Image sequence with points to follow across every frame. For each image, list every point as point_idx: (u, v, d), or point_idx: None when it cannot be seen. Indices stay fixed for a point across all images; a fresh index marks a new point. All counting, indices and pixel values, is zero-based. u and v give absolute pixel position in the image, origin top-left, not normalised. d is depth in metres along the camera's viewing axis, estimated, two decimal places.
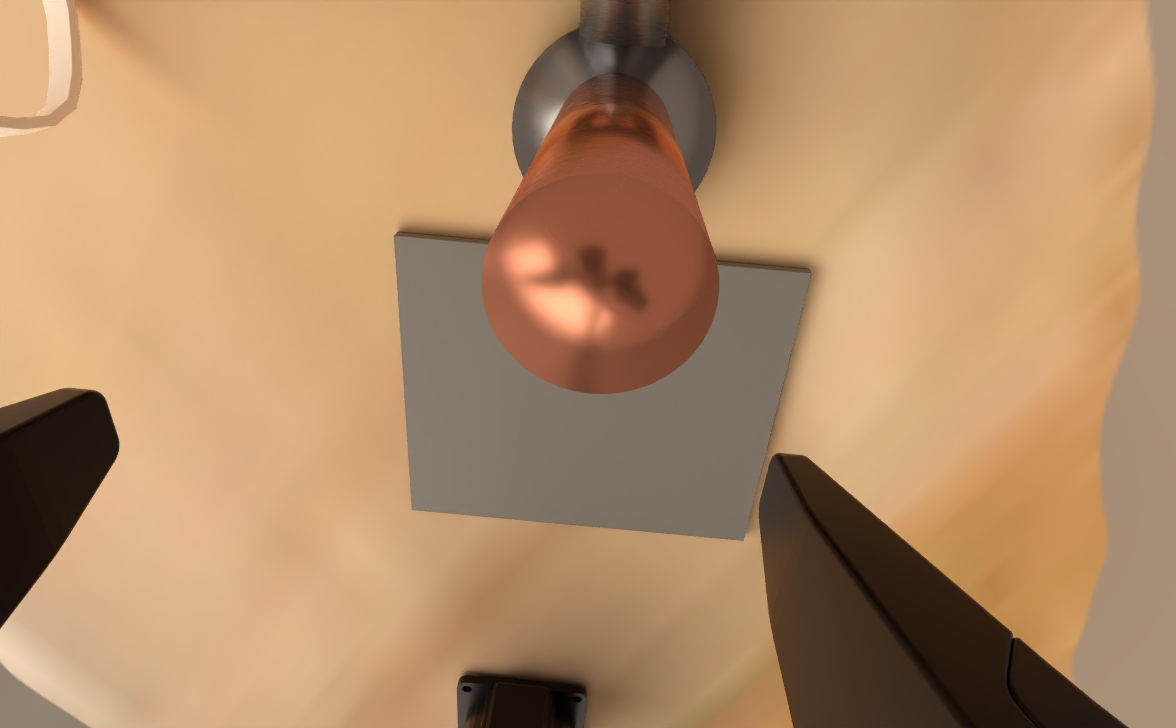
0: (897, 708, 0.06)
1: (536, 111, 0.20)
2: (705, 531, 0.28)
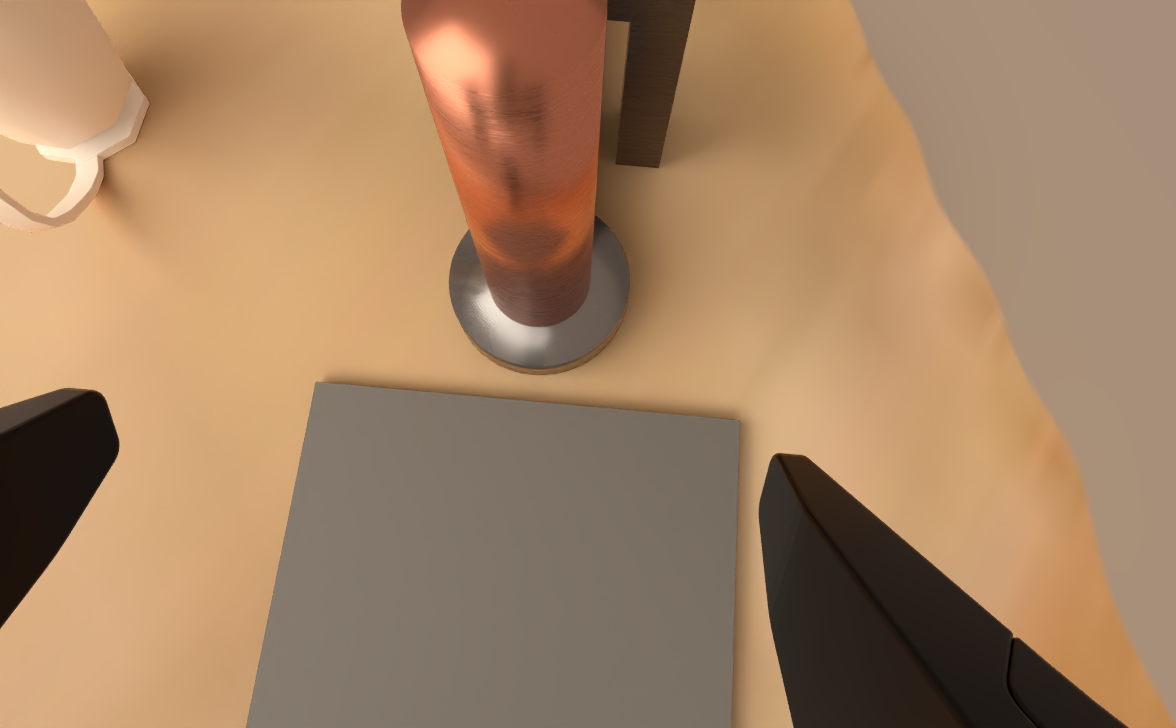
0: (897, 708, 0.06)
1: (472, 258, 0.23)
2: None
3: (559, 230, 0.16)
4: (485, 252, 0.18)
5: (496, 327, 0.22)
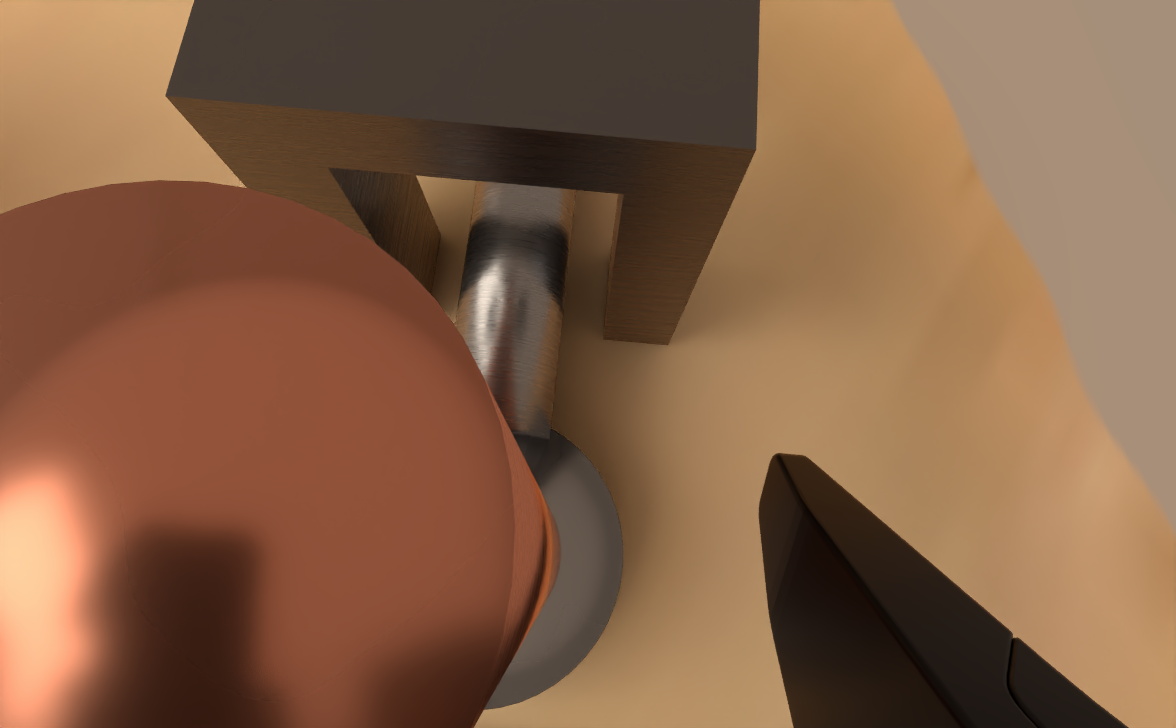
0: (897, 708, 0.06)
1: None
2: None
3: None
4: None
5: None
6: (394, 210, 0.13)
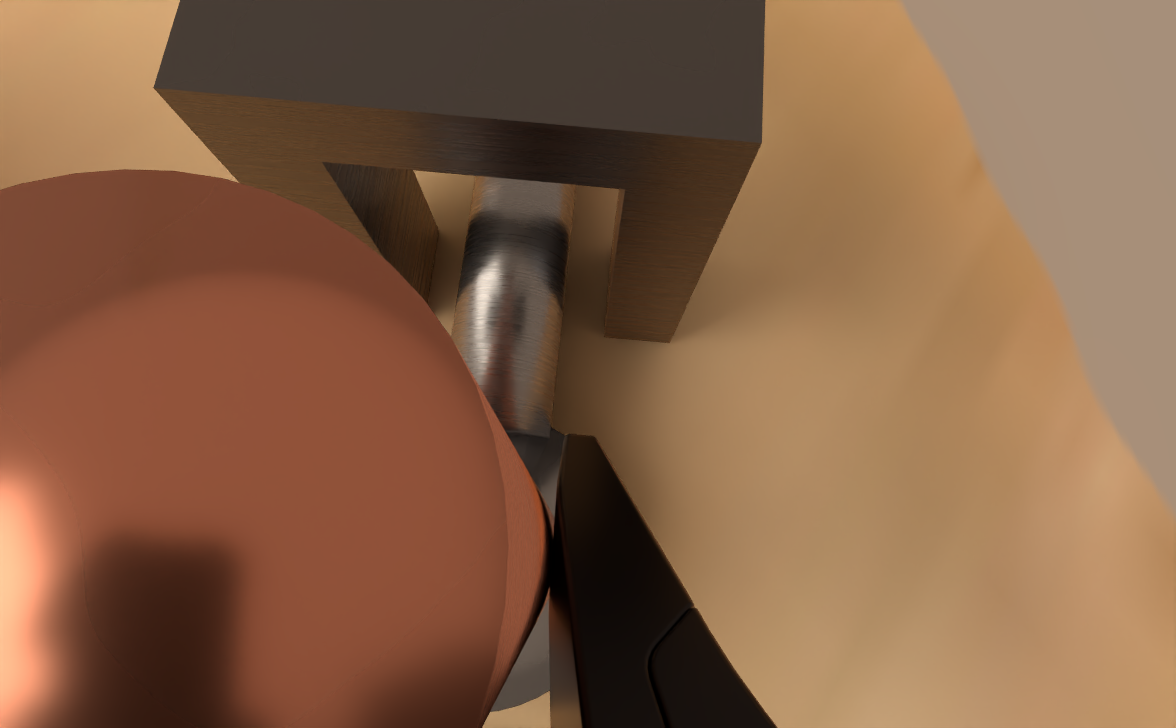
0: (569, 677, 0.06)
1: None
2: None
3: None
4: None
5: None
6: (391, 206, 0.13)
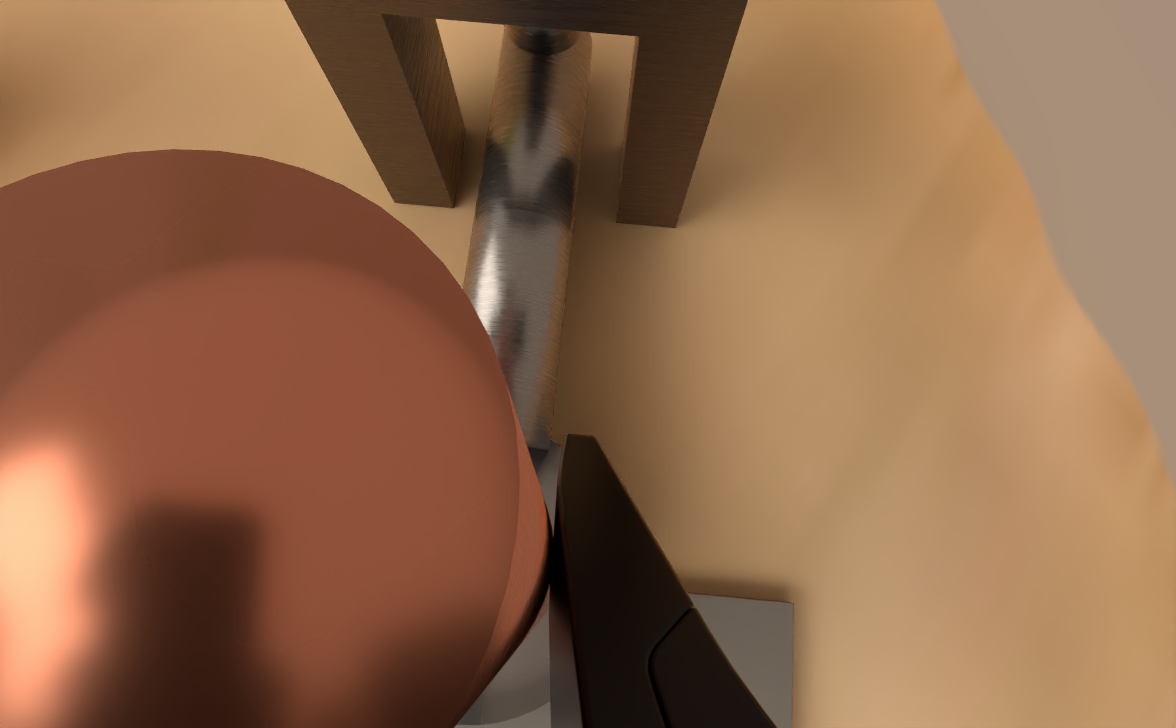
0: (569, 678, 0.06)
1: None
2: None
3: None
4: None
5: None
6: (429, 84, 0.15)
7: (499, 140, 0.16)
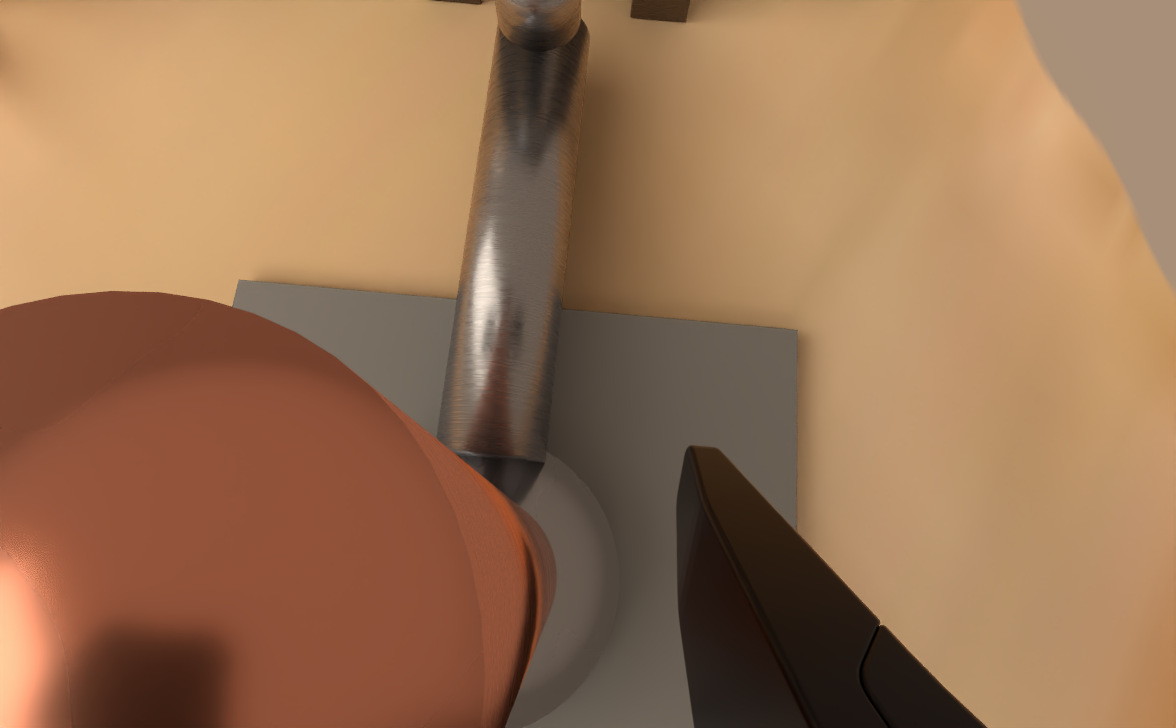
0: (761, 695, 0.06)
1: None
2: None
3: None
4: None
5: None
6: None
7: (493, 142, 0.16)
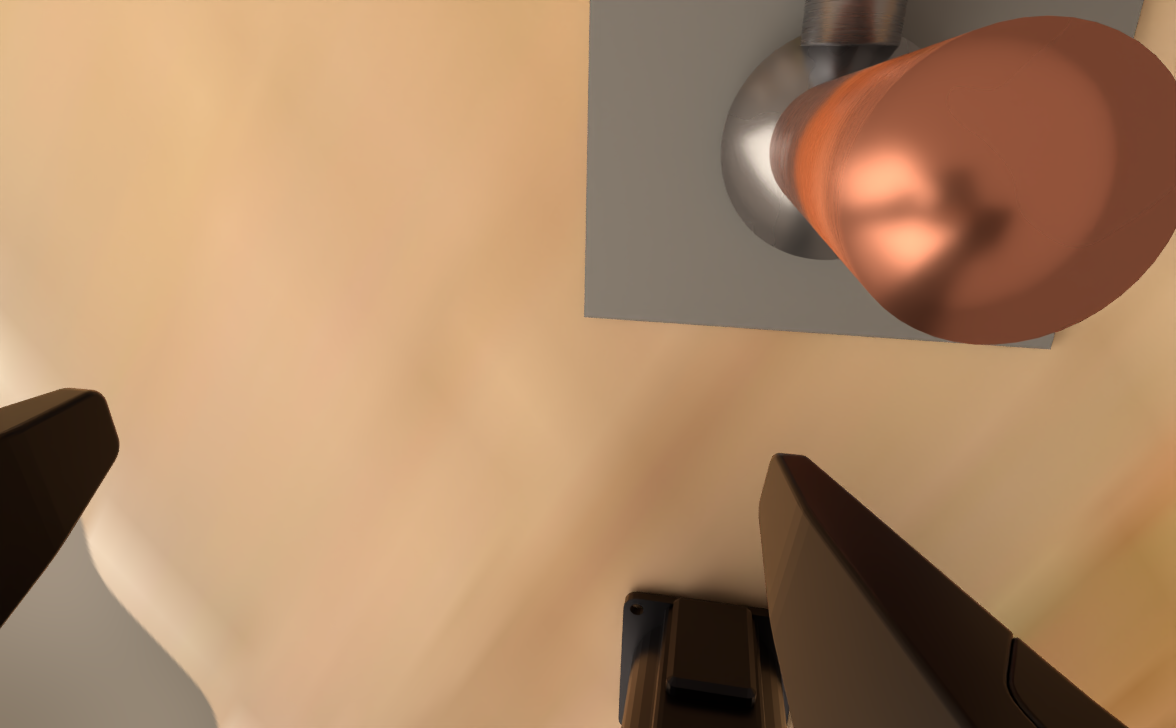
0: (897, 708, 0.06)
1: (749, 127, 0.18)
2: None
3: None
4: None
5: (780, 216, 0.19)
6: None
7: None
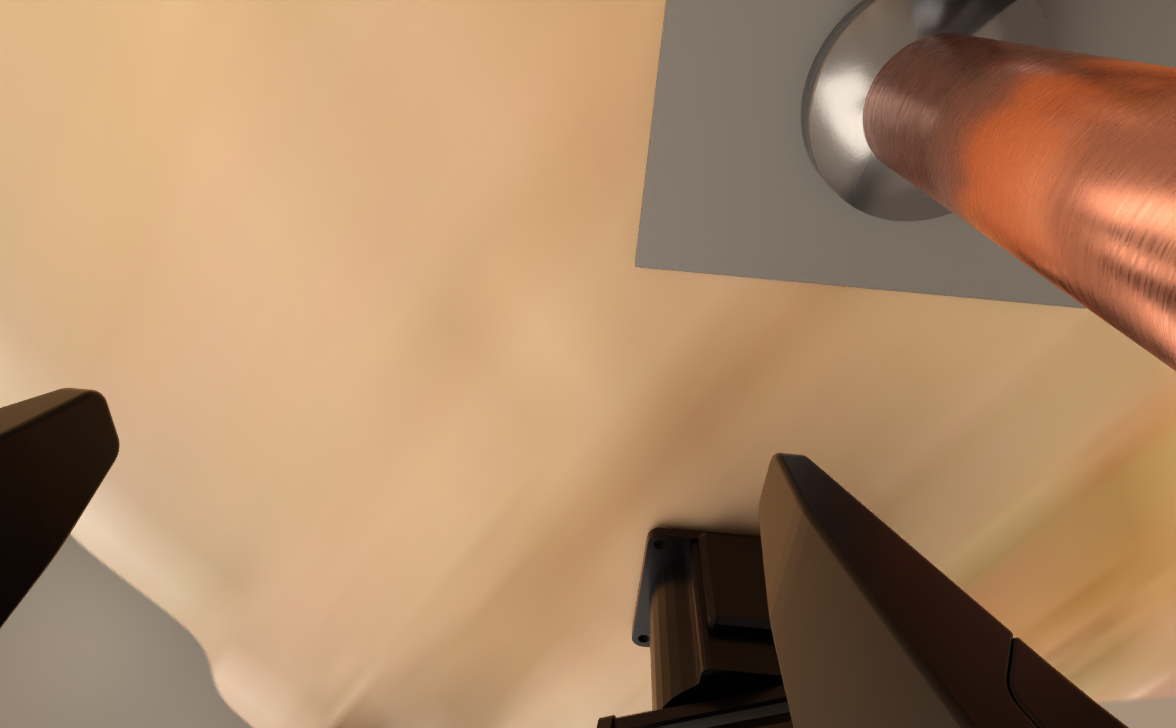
0: (897, 708, 0.06)
1: (846, 78, 0.17)
2: (1036, 294, 0.21)
3: None
4: (950, 209, 0.14)
5: (864, 174, 0.18)
6: None
7: None
